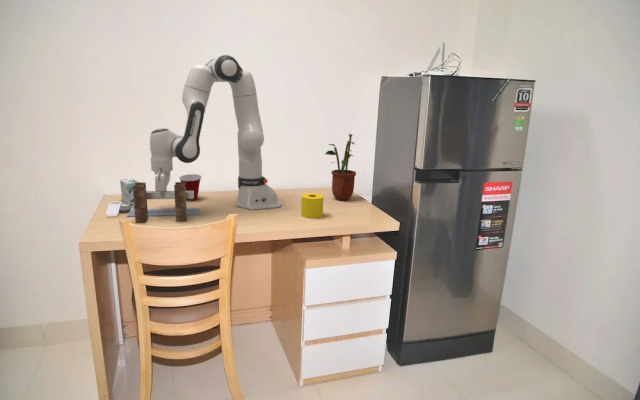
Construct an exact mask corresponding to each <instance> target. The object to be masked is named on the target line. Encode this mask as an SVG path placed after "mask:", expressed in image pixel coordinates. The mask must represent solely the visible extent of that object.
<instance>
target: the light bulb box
mask: <svg viewBox="0 0 640 400" xmlns="http://www.w3.org/2000/svg"><path fill="white" fill-rule="evenodd" d="M119 182H120V183H119V184H120V191H121V202H124V203H125V204H127V203H128V204H132V205H131V206H134V199H132V200H131V192H132V191H133V185H135V183H140V182H141V181H140V180H138V179H136V178H134V177H133V178H132V177H131V178H124V179H120V180H119ZM128 204H127V205H128Z"/></svg>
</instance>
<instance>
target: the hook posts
mask: <svg viewBox="0 0 640 400" xmlns="http://www.w3.org/2000/svg"><path fill="white" fill-rule="evenodd" d="M146 183H147V182H143V181H140V183H135V185H133V196H134V205H133V207H134V210H135V217H134V221H135V224H147V222H148V221H149V217H148V209H149V208H148V199H147V194H146V191H147V186H146V185H147V184H146ZM173 186H174V187H173V189H174V190H173V191H174V193H175V199H174V209H175V213H176V216H175V222H176V223H187V218H188V216H187V209H186V208H187V200H186V187H185V182H181V181H177V182H174V185H173Z"/></svg>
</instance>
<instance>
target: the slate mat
mask: <svg viewBox="0 0 640 400" xmlns="http://www.w3.org/2000/svg"><path fill="white" fill-rule="evenodd" d="M186 209H187V217H188V216H189V217H190V216H200V210H201V209H200V208H199V207H196V208H195V207H193V208H192V207H191V208H188V207H186ZM149 217H176V213H175V208H148V218H149ZM126 218H135V209H130V211H129V212H128V213H127V214H126Z"/></svg>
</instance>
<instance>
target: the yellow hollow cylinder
mask: <svg viewBox="0 0 640 400" xmlns="http://www.w3.org/2000/svg"><path fill="white" fill-rule="evenodd" d="M300 206H301V207H300V208H301V209H300V211H301V212H300V215H301V218H305V219H309V220H311V219H313V220H314V219H321V218H322V217H323V215H324V214H323V210H324V195H323V194H321V193H315V192H309V193H308V192H307V193H302V194H301V205H300Z"/></svg>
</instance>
